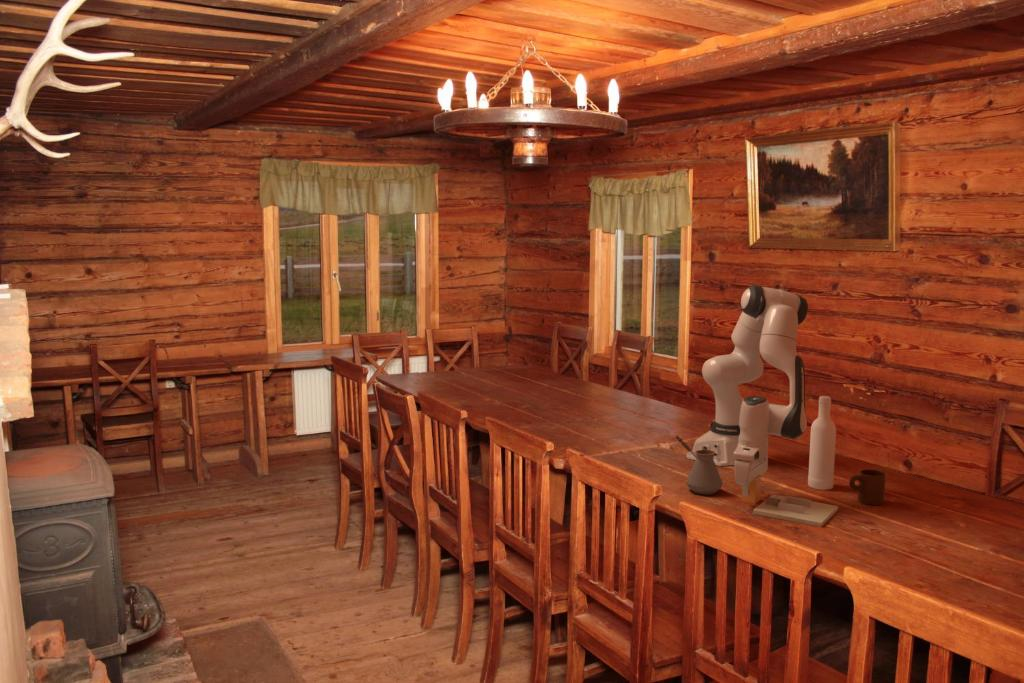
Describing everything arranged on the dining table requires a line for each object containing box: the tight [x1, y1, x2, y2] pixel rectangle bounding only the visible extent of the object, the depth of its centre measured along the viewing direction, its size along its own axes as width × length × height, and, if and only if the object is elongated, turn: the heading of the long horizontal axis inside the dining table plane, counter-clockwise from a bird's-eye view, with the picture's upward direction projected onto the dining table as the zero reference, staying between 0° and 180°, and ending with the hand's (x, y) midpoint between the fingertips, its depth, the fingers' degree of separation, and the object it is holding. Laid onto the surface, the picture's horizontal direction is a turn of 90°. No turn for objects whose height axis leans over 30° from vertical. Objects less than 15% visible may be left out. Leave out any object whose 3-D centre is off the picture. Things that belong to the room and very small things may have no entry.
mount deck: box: [752, 494, 839, 528], centre depth 270 cm, size 20×18×3 cm
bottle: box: [807, 395, 837, 491], centre depth 293 cm, size 8×8×30 cm
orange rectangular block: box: [740, 475, 762, 504], centre depth 280 cm, size 4×4×8 cm
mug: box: [848, 469, 886, 506], centre depth 278 cm, size 12×8×9 cm, turn 108°
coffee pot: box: [672, 435, 723, 495], centre depth 293 cm, size 21×12×15 cm, turn 27°
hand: (751, 491), depth 280 cm, fingers open, 8 cm apart
